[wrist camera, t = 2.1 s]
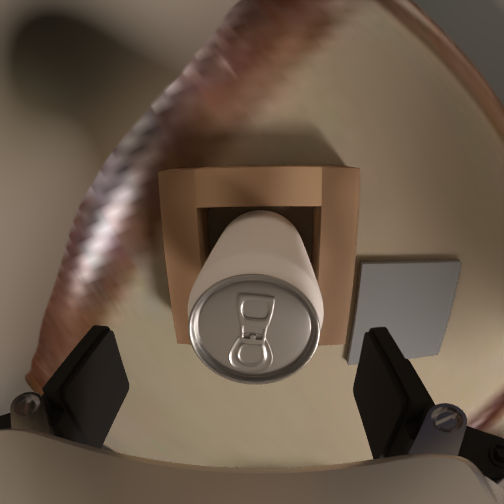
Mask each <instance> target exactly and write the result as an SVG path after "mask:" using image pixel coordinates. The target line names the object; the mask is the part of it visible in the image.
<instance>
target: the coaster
mask: <svg viewBox="0 0 504 504" xmlns="http://www.w3.org/2000/svg"><path fill="white" fill-rule="evenodd" d="M461 263H462V262H461V261H459V260H424V261H360V269H359V279H358V288H357V296H356V304H355V312H354V319H353V326H352V332H351V339H350V345H349V351H348V357H347V364H348V365H354V364H358V363H359V359H360V354H361V349H362V343H363V338H364V334H365V332H369V329H370V328H374V327H386V328H387V329H388V331H389V333H390V334H391V336H392V337H393V339H394V341H395V342H396V344H397V345H398V347H399V349H400V350H401V352H402V354H403V355H404V357H405V359H412V358H419V357H426V356H433V355H438V353H439V350H440V347H441V344H442V341H443V338H444V334H445V331H446V327H447V324H448V320H449V317H450V313H451V309H452V305H453V301H454V297H455V293H456V288H457V284H458V279H459V274H460V269H461Z"/></svg>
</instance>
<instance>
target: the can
mask: <svg viewBox="0 0 504 504" xmlns="http://www.w3.org/2000/svg"><path fill="white" fill-rule="evenodd" d="M323 316H324V309H323V301H322V296H321V293H320V289H319V286H318V283H317V280H316V277H315V274H314V271H313V269H312V266H311V263H310V260H309V258H308V255H307V252H306V249H305V247H304V244H303V242H302V239H301V237H300V235H299V233H298V231H297V229H296V228H295V227H294V225H293V224H292V223H291V222H290V221H289V220H288V219H286V218H285V217H283V216H281V215H280V214H277V213H275V212H271V211H266V210H255V211H250V212H247V213H244V214H242V215H240V216H238V217H236V218H235V219H234V220H233V221H231V222H230V223H229V225H228V226H227V227H226V228H225V230H224V231H223V233H222V234H221V236H220V238H219V240H218V241H217V243H216V245H215V246H214V248H213V250H212V252H211V253H210V255H209V257H208V259H207V261H206V262H205V264H204V266H203V268H202V270H201V271H200V273H199V275H198V277H197V279H196V281H195V283H194V285H193V287H192V290H191V293H190V296H189V301H188V320H189V321H188V333H189V339H190V342H191V345H192V347H193V349H194V351H195V353H196V355H197V356H198V357H199V359H200V360H201V361H202V362H203V363H204V364H205V365H206V366H207V367H208V368H209V369H210V370H212V371H213V372H215V373H216V374H218V375H220V376H222V377H224V378H226V379H229V380H231V381H235V382H239V383H244V384H268V383H273V382H277V381H280V380H283V379H285V378H288V377H290V376H291V375H293V374H295V373H296V372H298V371H299V370H300V369H302V368H303V367H304V366H305V365H306V364H307V363H308V362H309V360H310V359H311V358H312V356H313V354H314V353H315V351H316V348H317V346H318V342H319V338H320V330H321V327H322V324H323Z"/></svg>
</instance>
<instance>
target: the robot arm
mask: <svg viewBox="0 0 504 504" xmlns="http://www.w3.org/2000/svg"><path fill="white" fill-rule="evenodd" d="M42 390H43V391H44V394H43V395H42V396H41V395H40V394H38V393H36V392H25V393H23V394H20V395H19V396H17V397H16V398H15V399H14V400H13V401H12V403H11V407H10V413H8V414H5V415H2V416H0V504H504V439H503V438H500V437H497V436H494V435H491V434H488V433H485V432H483V431H480V430H477V429H474V428H471V427H468V426H467V417H466V415H465V413H464V412H463V410H461V409H460V408H459V407H457V406H455V405H453V404H448V403H441V404H437V405H435V404H434V402H433V400H432V398H431V397H430V395H429V393H428V391H427V390H426V388H425V386H424V385H423V383H422V381H421V379H420V378H419V376H418V374H417V373H416V371H415V369H414V368H413V366H412V364H411V363H410V361H409V360H408V359H405V357H404V355H403V354H402V352H401V350H400V349H399V347H398V345H397V344H396V342H395V341H394V339H393V337H392V336H391V334H390V333H389V331H388V329H387V328H386V327H374V328H370V329H369V332H365V334H364V338H363V343H362V349H361V354H360V359H359V363H358V368H357V373H356V377H355V382H354V386H353V394H354V397H355V400H356V404H357V407H358V410H359V413H360V416H361V419H362V422H363V426H364V429H365V432H366V435H367V439H368V442H369V445H370V449H371V452H372V456H373V460H366V461H359V462H352V463H343V464H334V465H324V466H312V467H296V468H227V467H211V466H199V465H189V464H181V463H173V462H166V461H159V460H153V459H147V458H141V457H136V456H131V455H126V454H121V453H117V452H112V451H108V450H104V449H101V447H102V445H103V443H104V440H105V438H106V436H107V434H108V432H109V430H110V428H111V426H112V424H113V421H114V419H115V417H116V415H117V413H118V411H119V409H120V407H121V405H122V403H123V401H124V399H125V397H126V395H127V393H128V390H129V382H128V379H127V376H126V373H125V369H124V366H123V363H122V360H121V356H120V353H119V350H118V346H117V343H116V339H115V335H114V332H113V331H112V330H110V328H109V327H107V326H98V325H94V326H93V327H92V328H91V329H90V330H89V331H88V333H87V334H86V335H85V336H84V337H83V339H82V340H81V341H80V342H79V343H78V345H77V346H76V347H75V348H74V349H73V351H72V352H71V353H70V354H69V356H68V357H67V358H66V359H65V361H64V362H63V363H62V364H61V366H60V367H59V368H58V369H57V371H56V372H55V373H54V374H53V376H52V377H51V378H50V379H49V381H48V382H47V383H46V385H45V386H44V387H43V389H42Z"/></svg>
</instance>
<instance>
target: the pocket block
mask: <svg viewBox="0 0 504 504" xmlns="http://www.w3.org/2000/svg"><path fill="white" fill-rule="evenodd" d="M158 182H159V197H160V210H161V222H162V232H163V242H164V252H165V261H166V269H167V277H168V285H169V292H170V300H171V307H172V313H173V320H174V326H175V332H176V338H177V343H179V344H191V342H190V339H189V333H188V321H189V320H188V301H189V296H190V293H191V290H192V287H193V285H194V283H195V281H196V279H197V277H198V275H199V273H200V271H201V270H202V268H203V266H204V264H205V262H206V261H207V259H208V257H209V255H210V246H209V229H208V212H207V207H244V206H314V213H313V248H312V269H313V271H314V274H315V277H316V280H317V283H318V286H319V289H320V293H321V296H322V301H323V309H324V316H323V324H322V327H321V330H320V338H319V342H318V345H339V344H345V341H346V334H347V327H348V320H349V313H350V305H351V296H352V288H353V278H354V268H355V257H356V244H357V230H358V212H359V186H360V169H359V168H354V167H348V166H325V165H241V166H214V167H194V168H179V169H170V170H165V171H159V172H158Z"/></svg>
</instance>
